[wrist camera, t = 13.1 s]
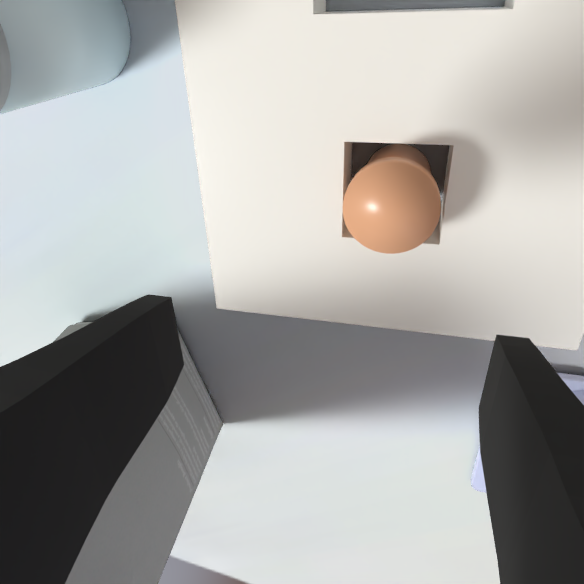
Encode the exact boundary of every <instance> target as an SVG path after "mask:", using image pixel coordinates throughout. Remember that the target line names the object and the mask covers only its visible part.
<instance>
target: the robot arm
mask: <svg viewBox="0 0 584 584" xmlns="http://www.w3.org/2000/svg"><path fill="white" fill-rule="evenodd" d="M183 366H184V360H183V355H182V350H181V345H180V340H179V335H178V329H177V324H176V319H175V314H174V309H173V303H172V298H171V297H164V296H155V295H146V296H144V297H141V298H139V299H137V300H135V301H133V302H131V303H128V304H126V305H125V306H123V307H121V308H119V309H117V310H115V311H113V312H111V313H109V314H107V315H105V316H103V317H102V318H100V319H98V320H96V321H94V322H92V323H90V324H88V325H86V326H84V327H83V328H81V329H79V330H77V331H75V332H73V333H71V334H69V335H67V336H65V337H63V338H61V339H59V340H57V341H55V342H53V343H51V344H49V345H47V346H45V347H43V348H41V349H38V350H36V351H34V352H32V353H30V354H28V355H26V356H24V357H22V358H20V359H18V360H15V361H13V362H11V363H9V364H6V365H4V366H2V367H0V584H65V583H66V581H67V578H68V576H69V574H70V572H71V570H72V568H73V566H74V564H75V561H76V559H77V557H78V555H79V553H80V551H81V549H82V547H83V545H84V542H85V540H86V538H87V536H88V534H89V532H90V530H91V528H92V526H93V524H94V522H95V520H96V519H97V517H98V515H99V513H100V511H101V509H102V507H103V505H104V503H105V501H106V499H107V497H108V495H109V494H110V492H111V490H112V489H113V487H114V485H115V483H116V482H117V480H118V478H119V477H120V475H121V474H122V472H123V471H124V469H125V467H126V466H127V464H128V463H129V461H130V460H131V458H132V457H133V455H134V453H135V452H136V450H137V449H138V447H139V446H140V444H141V443H142V441H143V439H144V438H145V436H146V435H147V433H148V432H149V430H150V429H151V427H152V425H153V424H154V422H155V421H156V419H157V418H158V416H159V414H160V413H161V411H162V410H163V408H164V406H165V405H166V403H167V401H168V399H169V397H170V395H171V393H172V391H173V389H174V387H175V385H176V383H177V380H178V378H179V376H180V373H181V371H182V369H183ZM479 433H480V445H479V449H478V452H477V456H476V460H475V464H474V468H473V472H472V476H471V486H472V487H473V488H474V489H475V490H477V491H480V492H486V493H487V498H488V504H489V510H490V516H491V522H492V529H493V535H494V541H495V547H496V553H497V559H498V567H499V575H500V584H584V376H580V375H572V374H564V373H557V372H556V371H555V370H554V369H553V367H552V366H551V365H550V364H549V362H548V361H547V360H546V359H545V357H544V356H543V355H542V353H541V352H540V351H539V350H538V348H537V347H536V346H535V345H534V344H533V342H532V341H531V340H530V339H529V338H524V337H515V336H506V335H497V334H496V338H495V343H494V347H493V351H492V355H491V359H490V363H489V368H488V372H487V376H486V380H485V384H484V388H483V393H482V397H481V401H480V405H479Z"/></svg>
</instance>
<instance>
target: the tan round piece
mask: <svg viewBox="0 0 584 584" xmlns="http://www.w3.org/2000/svg"><path fill="white" fill-rule="evenodd" d="M342 208H343V217H344V221H345V224H346V226H347V228H348V230H349V232H350V233H351V235H352V236H353V237H354V238H355V239H356V240H357V241H358V242H359V243H360V244H362V245H363V246H365V247H367V248H368V249H371V250H373V251H376V252H380V253H386V254H395V253H402V252H406V251H409V250H412V249H414V248H416V247H418V246H419V245H421V244H422V243H424V242H425V241H426V240H427V239H428V238H429V237H430V236H431V234H432V233H433V232H434V230H435V228H436V226H437V224H438V221H439V218H440V212H441V199H440V192H439V188H438V185H437V183H436V181H435V179H434V178H433V176H432V175H431V169H430V165H429V163H428V160H427V159H426V157H425V156H424V155H423V154H422V153H421V152H420V151H419V150H418V149H416V148H414V147H413V146H410V145H406V144H391V145H387V146H385V147H383V148H381V149H379V150H378V151H377V152H375V153H374V154H373V155H372V156H371V158H370V159H369V161H368V163H367V165H365V166H364V167H363V168H361V169H360V170H359V171H358V172H357V173H356V174H355V176H354V177H353V178H352V180H351V182H350V184H349V186H348V188H347V191H346V193H345V196H344V200H343V207H342Z"/></svg>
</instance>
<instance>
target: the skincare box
mask: <svg viewBox="0 0 584 584" xmlns="http://www.w3.org/2000/svg"><path fill="white" fill-rule="evenodd" d="M90 323H92V322H79V323H76V324H75V325H70V326H68V327H67V328H66V329H65V330H64V331H63V332H62V333H61V334H60V336H59V337H58V338H57V339H56V340H55V341H57V340H59V339H61V338H63V337H65V336H67V335H69V334H71V333H73V332H75V331H77V330H79V329H81V328H83V327H84V326H86V325H88V324H90ZM178 335H179V340H180V345H181V350H182V355H183V360H184V366H183V369H182V371H181V373H180V376H179V378H178V380H177V383H176V385H175V387H174V389H173V391H172V393H171V395H170V397H169V399H168V401H167V403H166V405H165V406H164V408H163V410H162V411H161V413H160V414H159V416H158V418H157V419H156V421H155V422H154V424H153V425H152V427H151V429H150V430H149V432H148V433H147V435H146V436H145V438H144V439H143V441H142V443H141V444H140V446H139V447H138V449H137V450H136V452H135V453H134V455H133V457H132V458H131V460H130V461H129V463H128V464H127V466H126V467H125V469H124V471H123V472H122V474H121V475H120V477H119V478H118V480H117V482H116V483H115V485H114V487H113V489H112V490H111V492H110V494H109V495H108V497H107V499H106V501H105V503H104V505H103V507H102V509H101V511H100V513H99V515H98V517H97V519H96V520H95V522H94V524H93V526H92V528H91V530H90V532H89V534H88V536H87V538H86V540H85V542H84V545H83V547H82V549H81V551H80V553H79V555H78V557H77V559H76V561H75V564H74V566H73V568H72V570H71V572H70V574H69V576H68V578H67V581H66V583H65V584H158V582H159V580H160V577H161V575H162V572H163V570H164V567H165V565H166V563H167V560H168V558H169V555H170V553H171V550H172V548H173V545H174V543H175V540H176V538H177V535H178V533H179V531H180V528H181V526H182V523H183V521H184V518H185V516H186V513H187V511H188V508H189V506H190V503H191V501H192V498H193V496H194V493H195V491H196V489H197V486H198V484H199V481H200V479H201V476H202V474H203V471H204V469H205V466H206V464H207V461H208V459H209V457H210V454H211V451H212V449H213V446H214V444H215V442H216V439H217V437H218V435H219V432H220V430H221V427H222V426H223V423H222V421H221V419H220V416H219V414H218V412H217V410H216V408H215V406H214V404H213V402H212V400H211V398H210V396H209V394H208V392H207V389H206V387H205V385H204V383H203V381H202V379H201V377H200V375H199V373H198V371H197V369H196V367H195V364H194V362H193V360H192V358H191V356H190V354H189V352H188V350H187V348H186V346H185V344H184V341H183V339H182V337H181V335H180V333H179V331H178ZM55 341H54V342H55Z"/></svg>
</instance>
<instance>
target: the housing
mask: <svg viewBox="0 0 584 584" xmlns="http://www.w3.org/2000/svg"><path fill="white" fill-rule="evenodd" d="M175 6H176V14H177V21H178V28H179V36H180V43H181V50H182V58H183V65H184V72H185V80H186V87H187V94H188V102H189V109H190V116H191V124H192V131H193V138H194V146H195V153H196V160H197V168H198V175H199V182H200V190H201V197H202V204H203V212H204V219H205V226H206V234H207V241H208V248H209V256H210V263H211V270H212V278H213V285H214V292H215V300H216V307H217V309H225V310H234V311H242V312H251V313H259V314H268V315H276V316H285V317H294V318H302V319H311V320H319V321H328V322H336V323H345V324H353V325H362V326H370V327H379V328H388V329H396V330H405V331H413V332H422V333H430V334H439V335H447V336H456V337H464V338H473V339H482V340H490V341H495V338H496V334H497V335H506V336H515V337H524V338H529V339H530V340H531V341H532V342H533V344H534V345H535V346H541V347H550V348H559V349H567V350H576V351H577V350H578V348H579V345H580V342H581V339H582V336H583V334H584V0H505V5H504V7H479V8H443V9H407V10H371V11H335V12H326V0H175ZM352 142H369V143H400V144H431V145H450V146H449V154H448V161H447V168H446V175H445V182H444V189H443V196H442V204H441V212H440V218H439V222H438V224H437V226H436V228H435V230H434V232H433V233H432V234H431V236H430V237H429V238H428V239H427V240H426V241H425V242H424V243H422V244H421V245H419V246H418V247H416V248H414V249H412V250H409V251H406V252H402V253H395V254H386V253H380V252H376V251H373V250H371V249H368V248H367V247H365V246H363V245H362V244H360V243H359V242H358V241H357V240H356V239H355V238H354V237H353V236H352V235H351V233H350V232H349V230H348V228H347V226H346V224H345V221H344V217H343V208H342V207H343V200H344V196H345V193H346V191H347V188H348V186H349V184H350V182H351V166H352Z"/></svg>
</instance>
